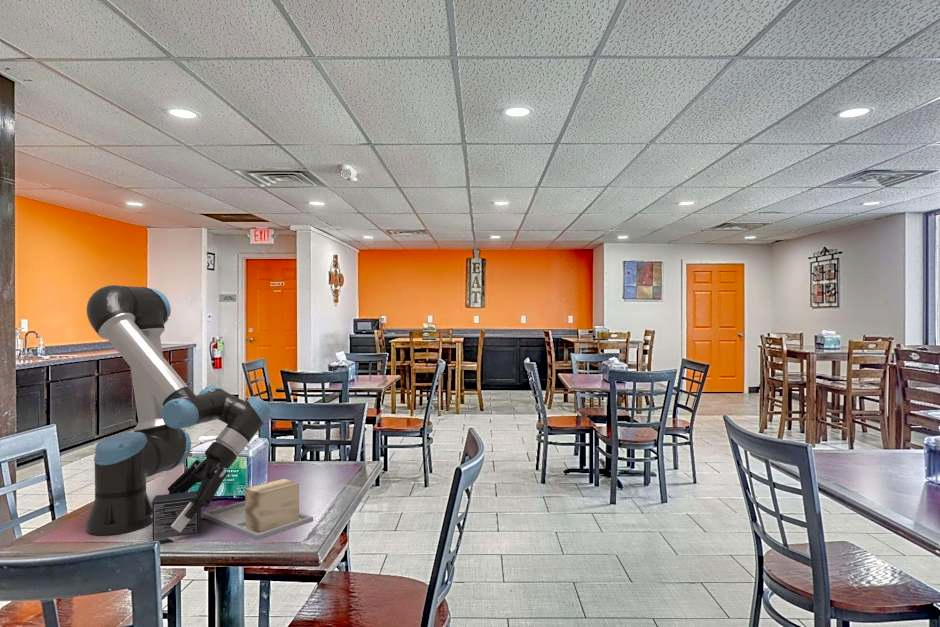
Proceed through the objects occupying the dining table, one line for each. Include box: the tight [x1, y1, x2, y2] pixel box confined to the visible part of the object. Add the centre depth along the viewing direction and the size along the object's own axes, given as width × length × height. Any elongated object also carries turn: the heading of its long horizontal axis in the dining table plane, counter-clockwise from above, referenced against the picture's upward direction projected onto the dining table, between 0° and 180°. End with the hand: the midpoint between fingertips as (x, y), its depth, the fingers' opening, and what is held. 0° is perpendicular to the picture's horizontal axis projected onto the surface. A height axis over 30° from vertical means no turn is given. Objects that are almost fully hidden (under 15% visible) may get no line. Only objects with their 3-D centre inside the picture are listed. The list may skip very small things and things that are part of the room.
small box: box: [151, 490, 202, 545], centre depth 142 cm, size 11×6×10 cm, turn 111°
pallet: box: [201, 500, 314, 541], centre depth 150 cm, size 27×16×2 cm, turn 52°
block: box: [244, 478, 300, 533], centre depth 146 cm, size 7×11×10 cm, turn 142°
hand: (165, 524), depth 139 cm, fingers closed on small box, 10 cm apart
